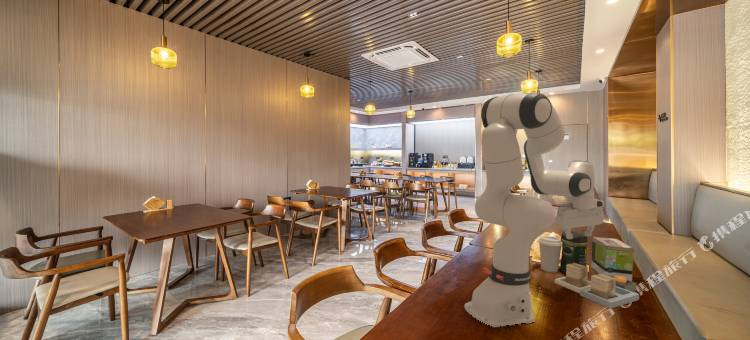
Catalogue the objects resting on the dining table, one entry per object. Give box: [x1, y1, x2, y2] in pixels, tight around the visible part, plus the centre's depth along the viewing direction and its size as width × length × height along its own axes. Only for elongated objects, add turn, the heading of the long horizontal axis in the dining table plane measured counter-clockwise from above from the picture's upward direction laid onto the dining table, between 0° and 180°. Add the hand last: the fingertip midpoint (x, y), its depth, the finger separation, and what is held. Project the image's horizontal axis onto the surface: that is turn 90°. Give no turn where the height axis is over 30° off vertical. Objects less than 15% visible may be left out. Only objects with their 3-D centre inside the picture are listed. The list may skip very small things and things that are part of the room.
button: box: [614, 275, 627, 284], centre depth 113 cm, size 4×4×4 cm
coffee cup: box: [537, 235, 563, 273], centre depth 132 cm, size 10×10×15 cm
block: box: [565, 263, 589, 288], centre depth 115 cm, size 5×5×8 cm
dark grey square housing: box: [611, 277, 637, 293], centre depth 113 cm, size 7×7×4 cm
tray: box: [554, 276, 591, 294], centre depth 115 cm, size 11×10×2 cm
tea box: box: [591, 236, 635, 282], centre depth 128 cm, size 15×10×15 cm
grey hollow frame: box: [579, 286, 640, 309], centre depth 105 cm, size 16×10×3 cm, turn 112°
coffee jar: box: [559, 230, 589, 274], centre depth 129 cm, size 10×8×19 cm
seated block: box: [590, 273, 616, 300], centre depth 104 cm, size 5×5×8 cm
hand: (578, 237), depth 114 cm, fingers open, 8 cm apart
